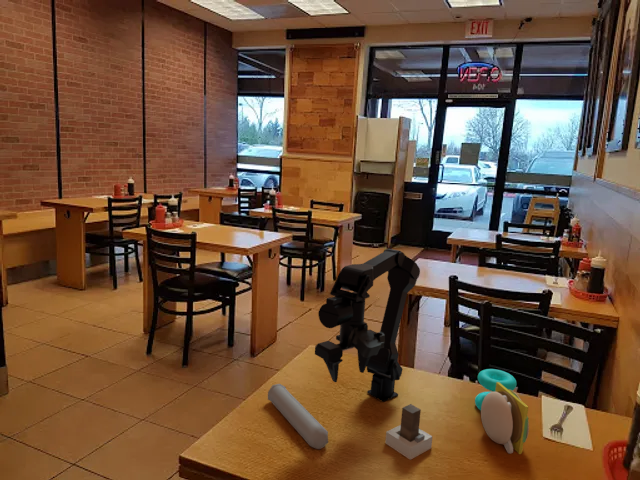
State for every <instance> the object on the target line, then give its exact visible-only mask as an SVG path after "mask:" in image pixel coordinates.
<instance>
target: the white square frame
mask: <svg viewBox="0 0 640 480" xmlns="http://www.w3.org/2000/svg"><path fill="white" fill-rule="evenodd" d="M400 429H401V424H399V425H398V426H395V427H394V428H391V429H389V430H386V433H385V444H386V445H387V446H389V447H390V448H392V449H393V450H395V451H396V452H398V453H399V454H401V455H403V456H404V457H406V458H407V459H408V460H410V461H411V460H412V459H414V458H416V457H418V456H419V455H421V454H423V453H425V452H427V451H429V450H430V449H432V443H433V435H431V434H429V433H428V432H426V431H424V430H422V429H420V428H419V433H418V436H417V437H415V440H414V441H412V442H410V441H408V440H406V439H405V438H403V437H402V436H400Z"/></svg>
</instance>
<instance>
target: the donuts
mask: <svg viewBox="0 0 640 480" xmlns="http://www.w3.org/2000/svg"><path fill="white" fill-rule="evenodd" d="M477 381H478V383H479V384H480V385H481V387H483V388H484V389H486V390H487V391H482V392H479V393H478V394H477V395H476V396H475V399H474V404H475V406H476V407H477V409H478V410H479V411H481V406H482V402H483V400H484V398H485V396H486V395H487V394H489V393H490V392H495V390H496V382H499V383H501V384H502V385H503V386H504V387H505V388H507V389H510V390H512V391H514V390H515V389H516V388H517V380H516V378H515V377H514V376H513V375H512V374H510V373H509V372H506V371H504V370H501V369H495V368H486V369H483V370H481V371H479V373H478V375H477Z"/></svg>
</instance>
